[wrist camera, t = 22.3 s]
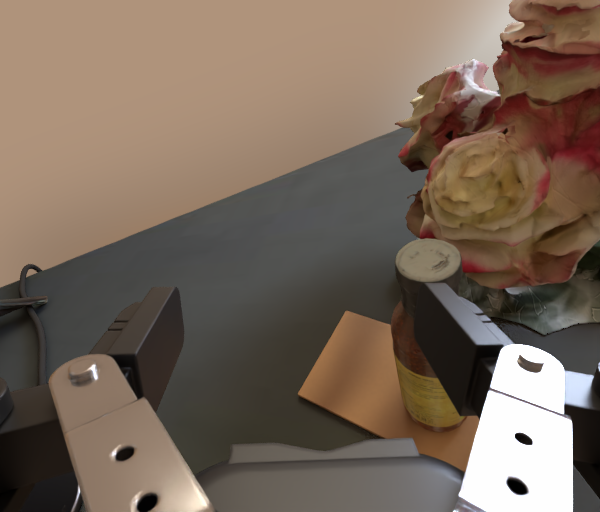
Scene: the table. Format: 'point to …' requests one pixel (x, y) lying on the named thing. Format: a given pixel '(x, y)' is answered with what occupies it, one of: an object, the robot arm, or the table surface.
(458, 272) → the sauce bottle
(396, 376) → the flat copper plate
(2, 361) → the table surface
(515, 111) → the rose bouquet
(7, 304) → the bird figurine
